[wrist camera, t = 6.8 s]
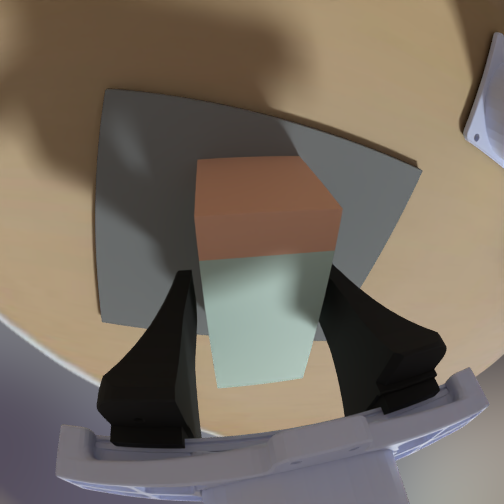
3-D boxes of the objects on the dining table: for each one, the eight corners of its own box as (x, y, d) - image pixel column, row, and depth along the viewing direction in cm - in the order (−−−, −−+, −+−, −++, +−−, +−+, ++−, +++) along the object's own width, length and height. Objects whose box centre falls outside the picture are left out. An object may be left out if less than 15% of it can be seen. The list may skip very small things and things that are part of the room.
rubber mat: (418, 168, 15) (422, 171, 14) (324, 336, 22) (325, 340, 22) (108, 88, 10) (105, 89, 10) (103, 317, 18) (101, 321, 18)
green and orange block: (283, 310, 19) (302, 377, 15) (212, 317, 18) (217, 388, 15) (299, 156, 13) (342, 209, 9) (197, 159, 13) (194, 216, 9)
